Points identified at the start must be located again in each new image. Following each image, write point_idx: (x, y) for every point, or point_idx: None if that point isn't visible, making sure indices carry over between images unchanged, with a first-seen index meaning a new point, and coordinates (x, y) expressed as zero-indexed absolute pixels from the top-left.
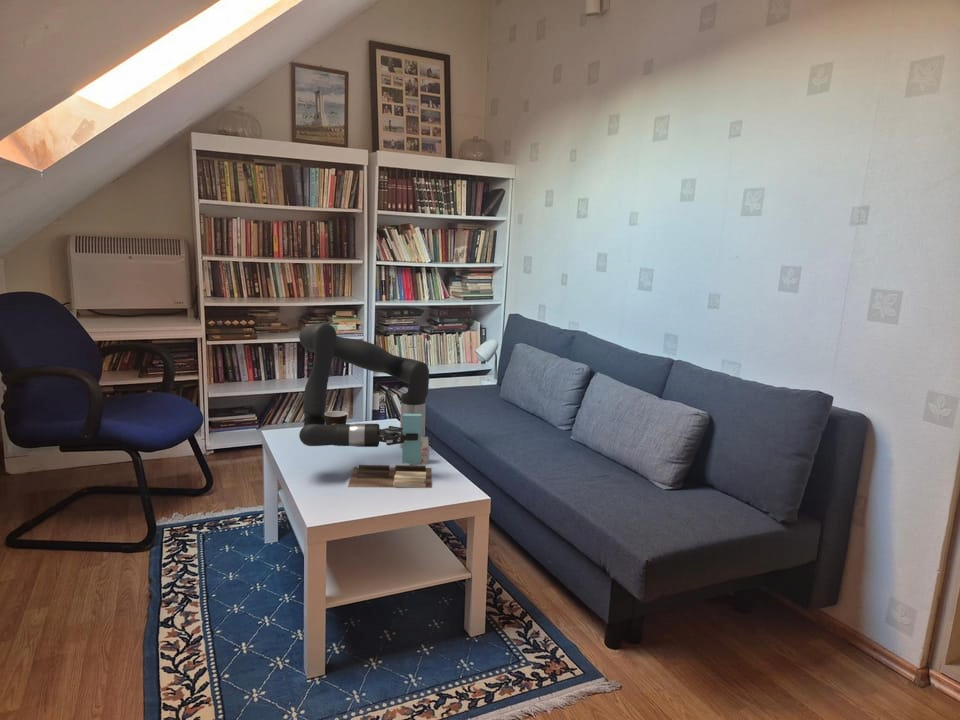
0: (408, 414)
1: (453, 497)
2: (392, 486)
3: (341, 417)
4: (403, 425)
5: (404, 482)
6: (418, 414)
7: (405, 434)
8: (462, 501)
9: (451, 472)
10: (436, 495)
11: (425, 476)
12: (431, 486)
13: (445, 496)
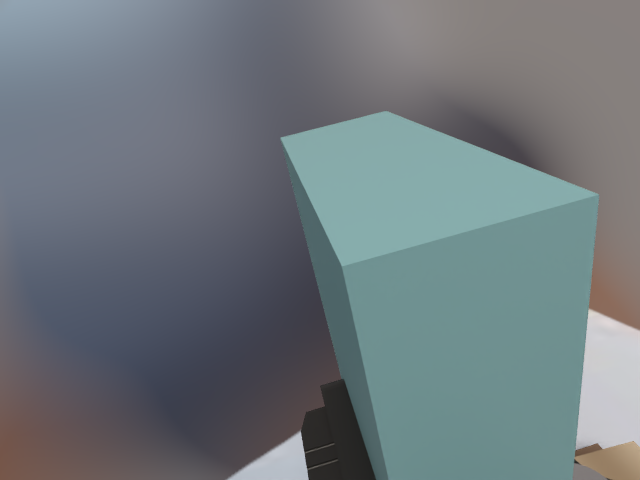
0: (378, 181)
1: (592, 351)
2: None
3: None
4: (560, 419)
5: None
6: (323, 136)
7: (588, 470)
8: (602, 317)
9: (291, 442)
10: (637, 416)
11: (603, 450)
12: (583, 451)
13: (610, 379)
